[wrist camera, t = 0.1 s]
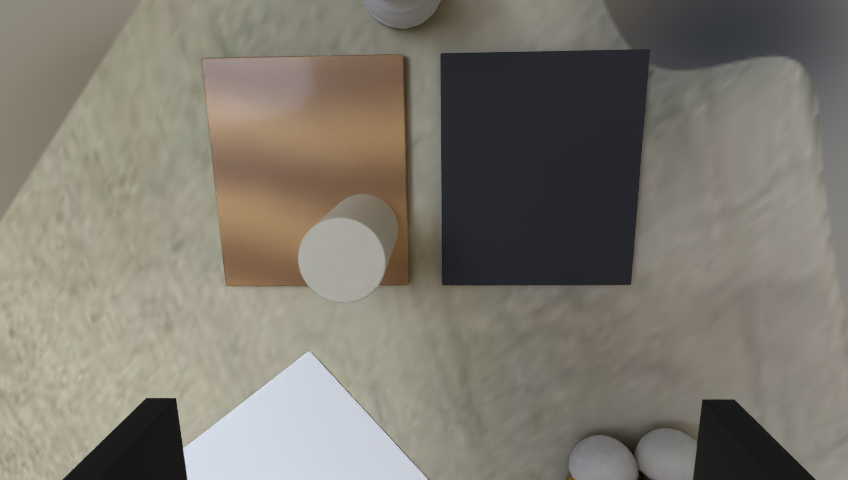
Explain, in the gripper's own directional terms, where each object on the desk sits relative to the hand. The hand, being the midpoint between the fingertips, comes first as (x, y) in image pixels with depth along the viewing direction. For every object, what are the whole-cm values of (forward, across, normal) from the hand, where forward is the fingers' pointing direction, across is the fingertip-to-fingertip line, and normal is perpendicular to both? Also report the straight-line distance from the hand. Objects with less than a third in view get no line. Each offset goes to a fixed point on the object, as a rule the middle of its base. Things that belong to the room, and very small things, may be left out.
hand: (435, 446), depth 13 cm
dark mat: (+19, +6, +5) cm, 20 cm away
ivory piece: (+18, -4, +2) cm, 19 cm away
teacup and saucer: (+19, -10, -20) cm, 29 cm away
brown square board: (+19, -7, +5) cm, 21 cm away
